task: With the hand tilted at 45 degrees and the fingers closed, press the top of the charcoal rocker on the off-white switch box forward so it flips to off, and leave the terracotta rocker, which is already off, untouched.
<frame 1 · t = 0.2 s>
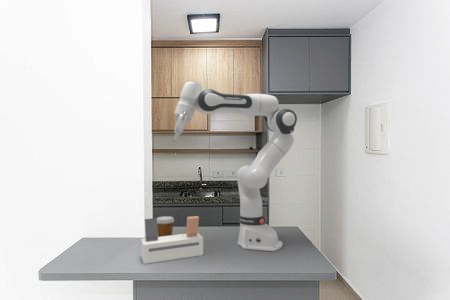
hand: (175, 141, 142), 52 cm above the countertop, tool tilted 20°, fingers open, 8 cm apart
rocker charcoal: (151, 229, 132), point 13 cm above the countertop, hinge at -18.0°
disposable coffee cup: (165, 241, 156), on the countertop
switch box: (172, 255, 134), on the countertop
rocker terracotta: (192, 226, 136), point 13 cm above the countertop, hinge at 18.0°
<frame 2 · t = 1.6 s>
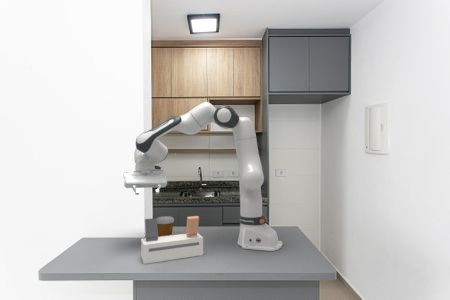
hand: (147, 193, 142), 27 cm above the countertop, tool tilted 45°, fingers open, 8 cm apart
nothing on the countertop moved.
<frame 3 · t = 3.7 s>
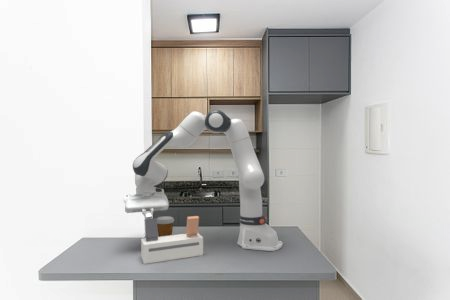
hand: (148, 218, 138), 16 cm above the countertop, tool tilted 45°, fingers closed
nothing on the countertop moved.
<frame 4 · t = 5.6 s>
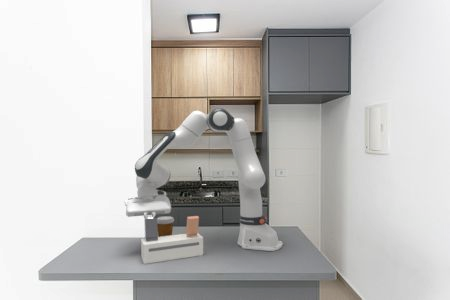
hand: (150, 222, 134), 15 cm above the countertop, tool tilted 45°, fingers closed, pressing on rocker charcoal
rocker charcoal: (151, 229, 132), point 13 cm above the countertop, hinge at -17.3°, touching gripper
everything else where it was.
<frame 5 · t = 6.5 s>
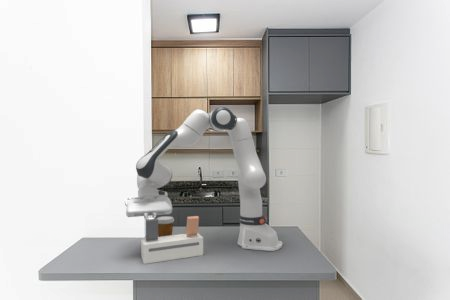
hand: (151, 222, 131), 16 cm above the countertop, tool tilted 45°, fingers closed, pressing on rocker charcoal
rocker charcoal: (151, 230, 130), point 13 cm above the countertop, hinge at 6.7°, touching gripper
everything else where it was.
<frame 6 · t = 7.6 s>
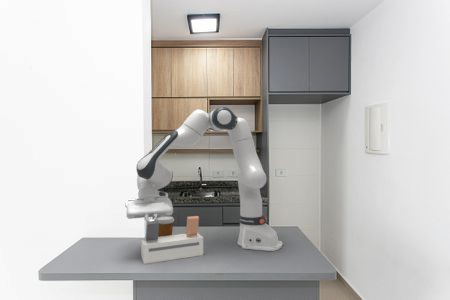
hand: (151, 224, 129), 15 cm above the countertop, tool tilted 45°, fingers closed, pressing on rocker charcoal
rocker charcoal: (152, 231, 129), point 13 cm above the countertop, hinge at 22.5°, touching gripper
everything else where it was.
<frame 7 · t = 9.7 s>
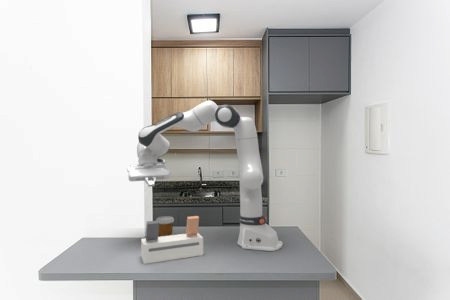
hand: (151, 185, 145), 30 cm above the countertop, tool tilted 45°, fingers closed
rocker charcoal: (152, 231, 129), point 13 cm above the countertop, hinge at 22.7°
everything else where it was.
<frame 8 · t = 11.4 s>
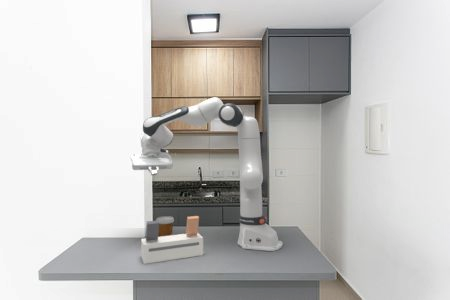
hand: (154, 174, 148), 35 cm above the countertop, tool tilted 45°, fingers closed
nothing on the countertop moved.
at the end: rocker charcoal at +23° (first picture: -18°); rocker terracotta at +18° (first picture: +18°); disposable coffee cup moved 0.2 cm from its start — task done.
